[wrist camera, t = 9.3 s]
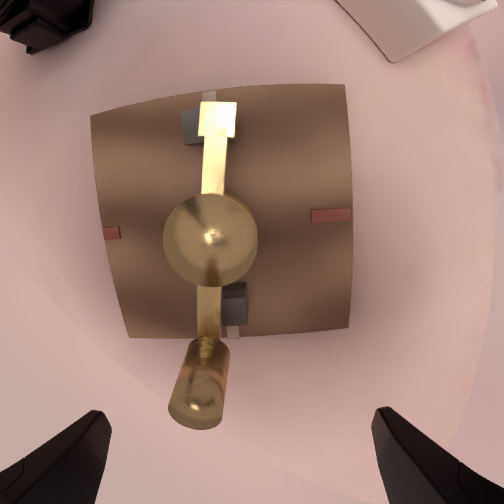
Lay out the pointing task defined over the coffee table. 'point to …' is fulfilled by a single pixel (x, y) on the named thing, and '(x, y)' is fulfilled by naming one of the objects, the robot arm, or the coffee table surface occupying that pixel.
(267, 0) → the coffee table surface
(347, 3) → the medicine bottle
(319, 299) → the post base
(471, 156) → the coffee table surface
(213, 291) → the crank handle
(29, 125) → the coffee table surface
